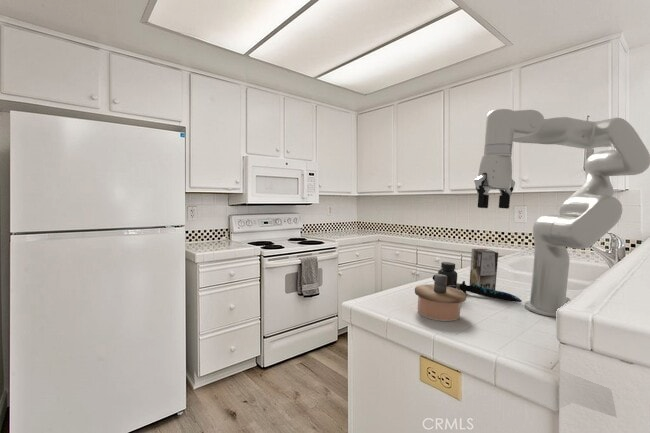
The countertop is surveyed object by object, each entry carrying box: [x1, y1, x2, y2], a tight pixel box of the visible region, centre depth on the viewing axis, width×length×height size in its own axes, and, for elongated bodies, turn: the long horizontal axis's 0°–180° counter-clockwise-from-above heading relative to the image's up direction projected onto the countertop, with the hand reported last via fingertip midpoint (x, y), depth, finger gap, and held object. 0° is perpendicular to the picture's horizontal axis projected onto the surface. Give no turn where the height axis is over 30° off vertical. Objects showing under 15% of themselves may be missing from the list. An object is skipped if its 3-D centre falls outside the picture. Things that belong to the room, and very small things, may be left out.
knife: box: [431, 274, 523, 303], centre depth 121 cm, size 31×3×4 cm, turn 60°
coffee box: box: [468, 248, 499, 290], centre depth 127 cm, size 9×6×16 cm
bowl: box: [417, 295, 462, 322], centre depth 101 cm, size 12×12×6 cm
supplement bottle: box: [437, 261, 458, 289], centre depth 120 cm, size 7×7×12 cm
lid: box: [414, 273, 467, 303], centre depth 100 cm, size 15×15×6 cm
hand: (493, 208), depth 101 cm, fingers open, 9 cm apart
